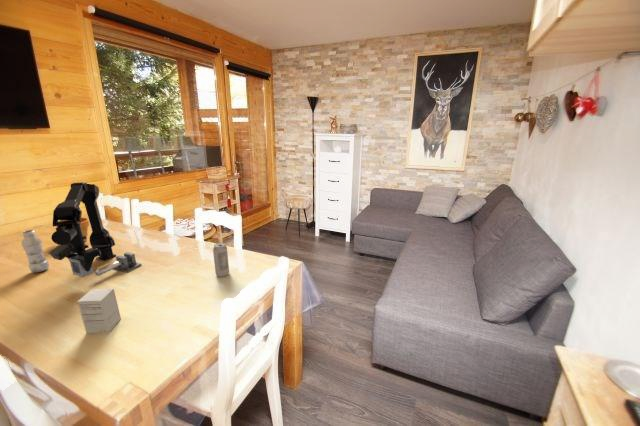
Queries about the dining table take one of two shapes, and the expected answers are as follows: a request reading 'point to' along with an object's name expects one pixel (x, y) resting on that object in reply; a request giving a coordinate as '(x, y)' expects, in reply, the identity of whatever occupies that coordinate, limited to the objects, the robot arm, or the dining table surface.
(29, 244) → the plastic bottle
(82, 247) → the robot arm
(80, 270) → the hollow rectangular metal block
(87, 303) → the supplement box
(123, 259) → the shaft stand
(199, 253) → the dining table surface
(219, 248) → the energy drink can
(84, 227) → the flower pot
